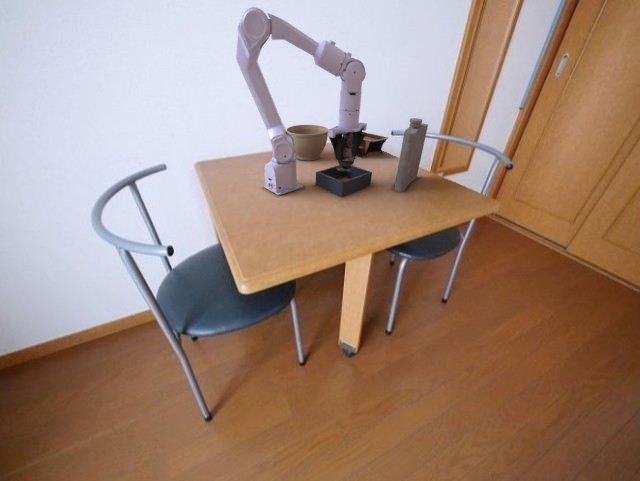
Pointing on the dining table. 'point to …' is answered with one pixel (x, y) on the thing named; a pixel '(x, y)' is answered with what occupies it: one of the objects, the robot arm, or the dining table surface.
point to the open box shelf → (342, 188)
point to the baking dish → (371, 144)
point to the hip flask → (410, 153)
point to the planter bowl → (308, 140)
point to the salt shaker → (347, 155)
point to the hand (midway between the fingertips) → (345, 158)
